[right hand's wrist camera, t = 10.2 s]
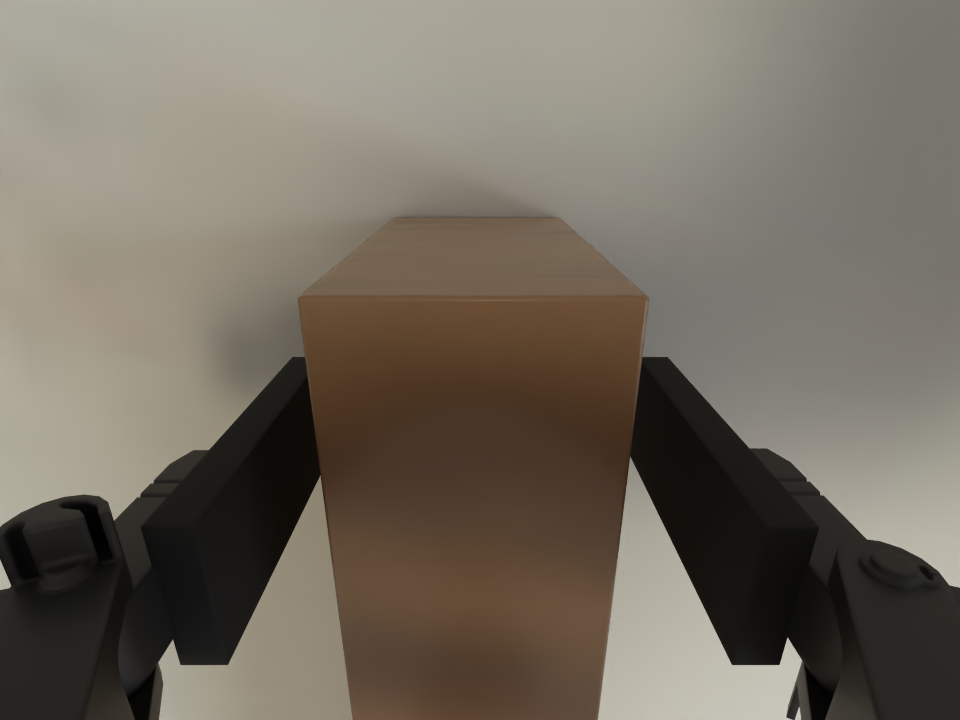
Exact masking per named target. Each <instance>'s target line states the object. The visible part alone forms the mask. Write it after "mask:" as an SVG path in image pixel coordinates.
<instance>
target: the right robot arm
mask: <svg viewBox="0 0 960 720" xmlns="http://www.w3.org/2000/svg"><path fill="white" fill-rule="evenodd" d="M630 457H631V459H632V461H633V463H634V465H635V467H636V469H637V471H638V473H639V475H640V477H641V479H642V481H643V483H644V485H645V487H646V489H647V491H648V493H649V495H650V498H651V500H652V502H653V504H654V506H655V508H656V510H657V512H658V514H659V516H660V518H661V520H662V522H663V524H664V526H665V528H666V530H667V532H668V534H669V536H670V539H671V541H672V543H673V545H674V547H675V549H676V551H677V553H678V555H679V557H680V559H681V561H682V563H683V565H684V567H685V569H686V571H687V573H688V575H689V577H690V580H691V582H692V584H693V586H694V588H695V590H696V592H697V594H698V596H699V598H700V600H701V602H702V604H703V606H704V608H705V610H706V612H707V614H708V616H709V618H710V621H711V623H712V625H713V627H714V629H715V631H716V633H717V635H718V637H719V639H720V641H721V643H722V645H723V647H724V649H725V651H726V653H727V655H728V657H729V659H730V662H731V664H732V665H779V664H780V661H781V658H782V654H783V651H784V647H785V644H786V640H787V637H788V638H789V640H790V642H791V643H792V645H793V646H794V648H795V650H796V651H797V653H798V654H799V656H800V657H801V659H802V664H801V667H800V670H799V673H798V676H797V680H796V683H795V686H794V689H793V692H792V695H791V699H790V702H789V705H788V711H787V718H790V719H792V720H795V717H796V714H797V711H798V708H799V707H800V712H801V720H960V588H958V587H954V586H950V585H948V583H947V582H946V581H945V579H944V578H943V577H942V576H941V574H940V573H939V572H938V571H937V570H936V569H934V568H933V567H932V566H930V565H929V564H928V563H927V562H925V561H924V560H923V559H921V558H919V557H917V556H915V555H913V554H911V553H909V552H908V551H906V550H904V549H902V548H899V547H896V546H893V545H890V544H887V543H883V542H880V541H873V540H867V539H866V538H865V537H864V536H863V535H862V534H861V533H860V532H859V531H858V530H857V529H856V528H855V527H854V526H853V525H852V524H851V523H850V522H849V521H848V520H847V519H846V518H845V517H844V516H843V515H842V514H841V513H840V512H839V511H838V510H837V509H836V508H835V507H834V506H833V505H832V504H831V503H830V502H829V501H828V500H827V499H826V498H825V497H824V496H821V495H820V492H819V491H818V490H817V489H816V488H815V487H814V486H813V485H812V484H811V483H810V482H807V478H806V477H805V476H804V475H803V474H802V473H801V472H800V471H799V470H798V469H797V468H796V467H795V466H794V465H793V464H792V463H791V462H789V461H787V460H786V459H784V458H782V457H780V456H779V455H777V454H775V453H774V452H772V451H770V450H768V449H749V448H748V446H747V445H746V444H745V443H744V442H743V441H742V440H741V439H740V438H739V436H738V435H737V434H736V433H735V432H734V431H733V430H732V429H731V427H730V426H729V425H728V424H727V423H726V422H725V421H724V420H723V419H722V417H721V416H720V415H719V414H718V413H717V412H716V411H715V410H714V409H713V407H712V406H711V405H710V404H709V403H708V402H707V401H706V400H705V398H704V397H703V396H702V395H701V394H700V393H699V392H698V391H697V390H696V388H695V387H694V386H693V385H692V384H691V383H690V382H689V381H688V380H687V378H686V377H685V376H684V375H683V374H682V373H681V372H680V371H679V369H678V368H677V367H676V366H675V365H674V364H673V363H672V362H671V361H670V359H669V358H668V357H642V362H641V370H640V379H639V387H638V395H637V403H636V411H635V419H634V428H633V436H632V444H631V452H630ZM320 475H321V474H320V466H319V458H318V451H317V443H316V436H315V428H314V420H313V413H312V405H311V397H310V390H309V382H308V375H307V367H306V359H305V357H292V358H291V359H290V361H289V362H288V363H287V364H286V365H285V366H284V367H283V368H282V369H281V371H280V372H279V373H278V374H277V375H276V376H275V377H274V378H273V379H272V381H271V382H270V383H269V384H268V385H267V386H266V387H265V388H264V390H263V391H262V392H261V393H260V394H259V395H258V396H257V397H256V398H255V400H254V401H253V402H252V403H251V404H250V405H249V406H248V407H247V409H246V410H245V411H244V412H243V413H242V414H241V415H240V416H239V417H238V419H237V420H236V421H235V422H234V423H233V424H232V425H231V426H230V427H229V429H228V430H227V431H226V432H225V433H224V434H223V435H222V436H221V438H220V439H219V440H218V441H217V442H216V443H215V444H214V445H213V446H212V448H211V449H210V450H193V451H191V452H190V453H188V454H186V455H185V456H183V457H181V458H180V459H178V460H176V461H174V462H173V463H171V464H170V465H169V466H168V467H167V468H166V469H165V470H164V471H163V472H162V473H161V474H160V475H159V476H158V477H157V478H156V479H155V480H154V483H153V484H150V485H149V486H148V487H147V488H146V489H145V490H144V491H143V492H142V493H141V496H140V498H136V499H135V500H134V501H133V502H132V503H131V504H130V505H129V506H128V507H127V508H126V509H125V510H124V511H123V512H122V513H121V514H120V516H119V517H118V518H117V519H116V520H115V521H114V520H113V517H112V513H111V510H110V507H109V504H108V502H107V501H105V500H104V499H102V498H101V497H99V496H91V495H77V496H69V497H63V498H59V499H56V500H52V501H49V502H45V503H42V504H40V505H37V506H35V507H33V508H31V509H28V510H26V511H24V512H22V513H20V514H18V515H17V516H15V517H14V518H12V519H11V520H9V521H8V522H6V523H5V524H3V525H2V526H1V527H0V560H1V562H2V564H3V567H4V569H5V572H6V574H7V576H8V579H9V581H10V583H11V587H10V588H8V589H4V590H0V720H159V714H160V705H161V697H162V689H163V680H162V674H161V670H160V667H159V664H158V662H159V660H160V659H161V657H162V656H163V654H164V652H165V651H166V649H167V648H168V646H169V644H170V643H171V641H172V640H174V644H175V647H176V651H177V654H178V658H179V661H180V664H181V665H228V664H229V661H230V659H231V657H232V655H233V653H234V651H235V649H236V647H237V645H238V643H239V641H240V639H241V637H242V635H243V633H244V631H245V629H246V627H247V625H248V623H249V620H250V618H251V616H252V614H253V612H254V610H255V608H256V606H257V604H258V602H259V600H260V598H261V596H262V594H263V592H264V590H265V588H266V586H267V584H268V582H269V579H270V577H271V575H272V573H273V571H274V569H275V567H276V565H277V563H278V561H279V559H280V557H281V555H282V553H283V551H284V549H285V547H286V545H287V543H288V541H289V538H290V536H291V534H292V532H293V530H294V528H295V526H296V524H297V522H298V520H299V518H300V516H301V514H302V512H303V510H304V508H305V506H306V504H307V502H308V500H309V497H310V495H311V493H312V491H313V489H314V487H315V485H316V483H317V481H318V479H319V477H320Z"/></svg>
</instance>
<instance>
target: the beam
mask: <svg viewBox="0 0 960 720" xmlns="http://www.w3.org/2000/svg"><path fill="white" fill-rule="evenodd" d="M648 305H649V298H648V296H647V295H646V294H645V293H643V292H642V291H641V290H640V289H639V288H638V287H637V286H636V285H634V284H633V283H632V282H631V281H630V280H629V279H628V278H627V277H625V276H624V275H623V274H622V273H621V272H620V271H619V270H618V269H616V268H615V267H614V266H613V265H612V264H611V263H610V262H609V261H607V260H606V259H605V258H604V257H603V256H602V255H601V254H600V253H598V252H597V251H596V250H595V249H594V248H593V247H592V246H591V245H589V244H588V243H587V242H586V241H585V240H584V239H583V238H581V237H580V236H579V235H578V234H577V233H576V232H575V231H574V230H572V229H571V228H570V227H569V226H568V225H567V224H566V223H565V222H563V221H562V220H561V219H560V218H394V219H392V220H391V221H390V222H389V223H387V224H386V225H385V226H384V227H383V228H381V229H380V230H379V231H378V232H377V233H375V234H374V235H373V236H372V237H370V238H369V239H368V240H367V241H366V242H364V243H363V244H362V245H361V246H359V247H358V248H357V249H356V250H355V251H353V252H352V253H351V254H350V255H349V256H347V257H346V258H345V259H344V260H342V261H341V262H340V263H339V264H338V265H336V266H335V267H334V268H333V269H332V270H330V271H329V272H328V273H327V274H325V275H324V276H323V277H322V278H321V279H319V280H318V281H317V282H316V283H315V284H313V285H312V286H311V287H310V288H308V289H307V290H306V291H305V292H304V293H302V294H301V295H300V296H299V297H298V306H299V314H300V321H301V329H302V336H303V344H304V352H305V359H306V367H307V375H308V382H309V390H310V397H311V405H312V413H313V420H314V428H315V436H316V443H317V451H318V458H319V466H320V474H321V481H322V489H323V497H324V504H325V512H326V519H327V527H328V535H329V542H330V550H331V558H332V565H333V573H334V580H335V588H336V596H337V603H338V611H339V619H340V626H341V634H342V641H343V649H344V657H345V664H346V672H347V680H348V687H349V695H350V702H351V710H352V718H353V720H598V714H599V706H600V697H601V689H602V681H603V673H604V665H605V657H606V648H607V640H608V632H609V624H610V616H611V608H612V599H613V591H614V583H615V575H616V567H617V558H618V550H619V542H620V534H621V526H622V518H623V509H624V501H625V493H626V485H627V477H628V468H629V460H630V452H631V444H632V436H633V428H634V419H635V411H636V403H637V395H638V387H639V379H640V370H641V362H642V354H643V346H644V338H645V329H646V321H647V313H648Z"/></svg>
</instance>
